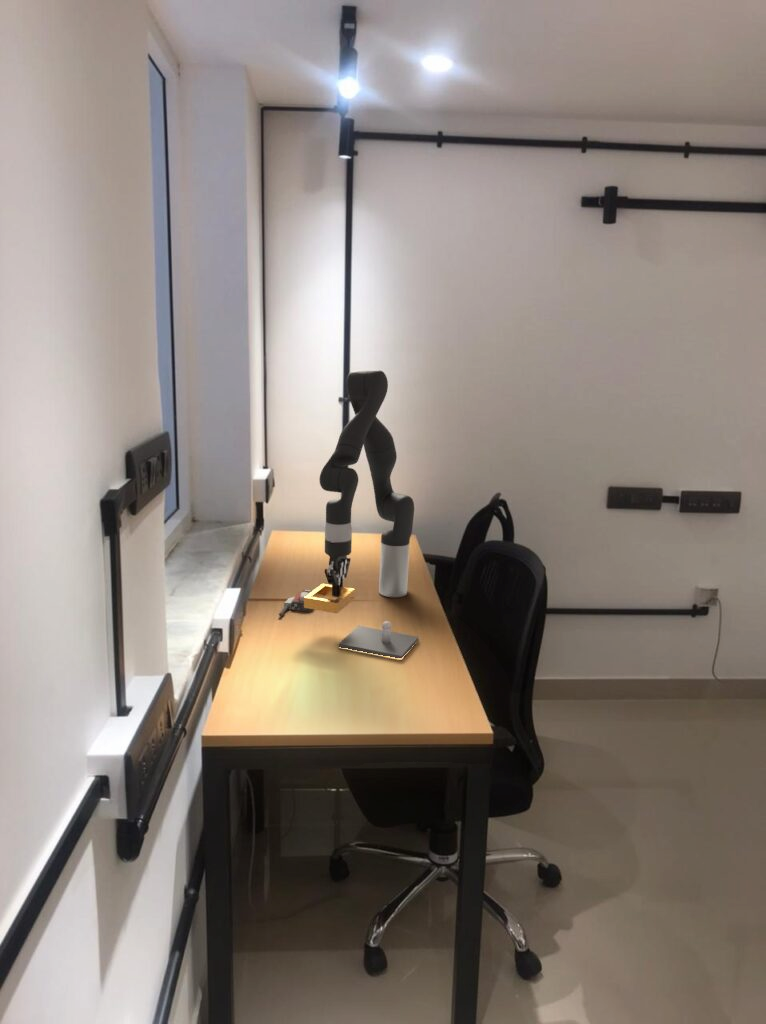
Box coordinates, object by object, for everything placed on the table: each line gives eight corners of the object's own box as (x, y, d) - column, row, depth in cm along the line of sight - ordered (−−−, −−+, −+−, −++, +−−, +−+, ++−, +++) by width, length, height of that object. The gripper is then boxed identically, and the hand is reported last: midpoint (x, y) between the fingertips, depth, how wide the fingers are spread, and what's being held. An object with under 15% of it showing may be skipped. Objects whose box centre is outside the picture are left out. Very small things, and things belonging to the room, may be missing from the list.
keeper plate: (358, 630, 219) (359, 606, 218) (418, 641, 213) (419, 617, 212) (338, 648, 207) (339, 623, 205) (401, 661, 200) (402, 635, 199)
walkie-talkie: (294, 596, 245) (276, 619, 226) (295, 583, 244) (276, 605, 225) (321, 599, 244) (305, 622, 225) (321, 585, 243) (305, 607, 224)
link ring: (322, 593, 221) (322, 583, 221) (354, 598, 218) (354, 588, 217) (303, 607, 210) (304, 597, 210) (337, 613, 207) (337, 603, 206)
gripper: (335, 529, 222) (335, 585, 226) (315, 541, 210) (315, 601, 214) (359, 532, 219) (358, 589, 224) (340, 545, 207) (339, 605, 211)
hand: (337, 595), depth 219 cm, fingers closed on link ring, 1 cm apart
